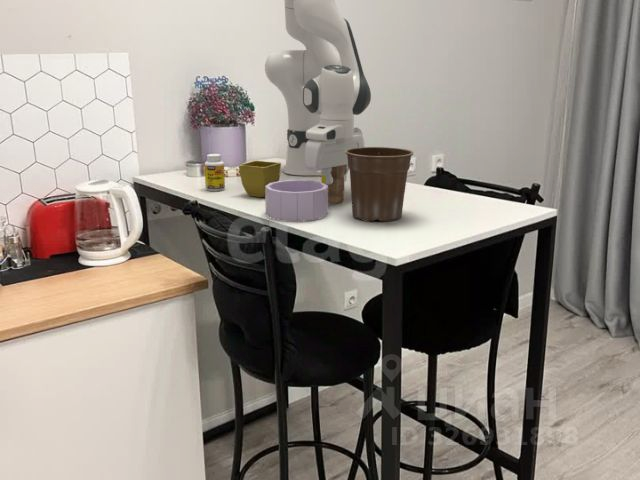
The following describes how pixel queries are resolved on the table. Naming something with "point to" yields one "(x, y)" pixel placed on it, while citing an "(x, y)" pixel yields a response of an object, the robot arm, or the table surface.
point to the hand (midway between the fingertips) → (336, 182)
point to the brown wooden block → (336, 186)
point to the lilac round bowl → (296, 200)
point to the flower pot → (258, 176)
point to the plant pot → (378, 181)
